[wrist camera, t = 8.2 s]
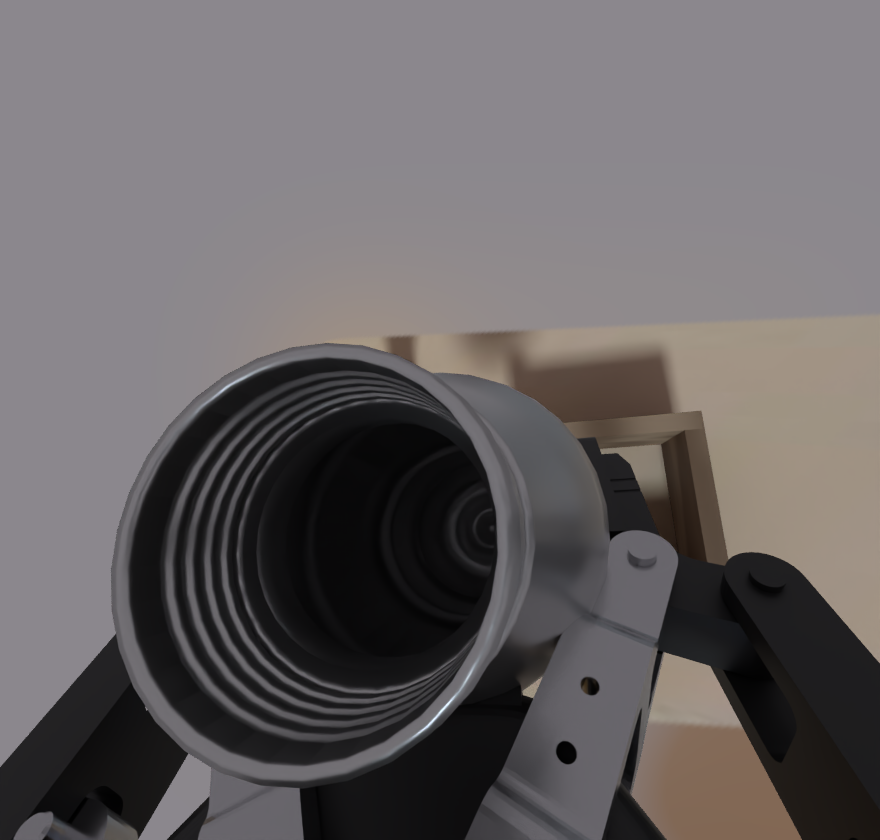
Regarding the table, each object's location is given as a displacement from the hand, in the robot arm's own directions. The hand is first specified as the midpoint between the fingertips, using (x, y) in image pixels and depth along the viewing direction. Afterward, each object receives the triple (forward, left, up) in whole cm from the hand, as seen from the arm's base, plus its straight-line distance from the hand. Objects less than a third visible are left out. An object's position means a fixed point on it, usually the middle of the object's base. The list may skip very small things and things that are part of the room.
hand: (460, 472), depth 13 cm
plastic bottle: (0, +2, -11) cm, 11 cm away
